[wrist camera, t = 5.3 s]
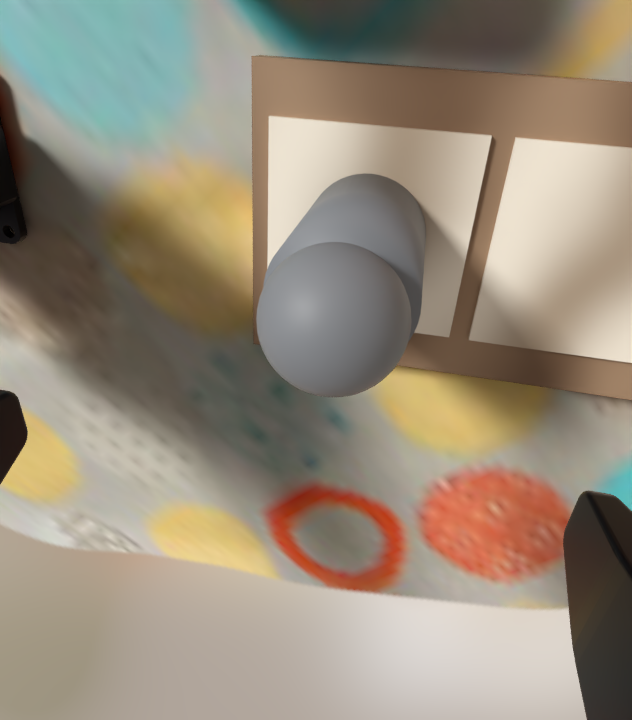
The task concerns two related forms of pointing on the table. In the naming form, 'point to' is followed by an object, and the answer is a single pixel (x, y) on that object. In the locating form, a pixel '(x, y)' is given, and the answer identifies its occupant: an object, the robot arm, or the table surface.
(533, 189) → the game board
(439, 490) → the table surface
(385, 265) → the pawn
